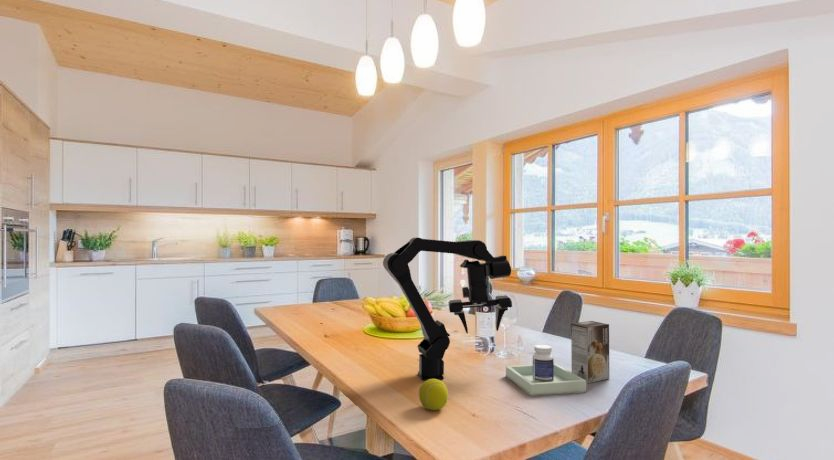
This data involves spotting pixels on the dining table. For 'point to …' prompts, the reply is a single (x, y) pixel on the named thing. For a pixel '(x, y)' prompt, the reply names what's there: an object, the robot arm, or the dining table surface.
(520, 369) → the tray
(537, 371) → the pill bottle
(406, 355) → the dining table surface
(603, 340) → the coffee box
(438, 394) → the tennis ball
